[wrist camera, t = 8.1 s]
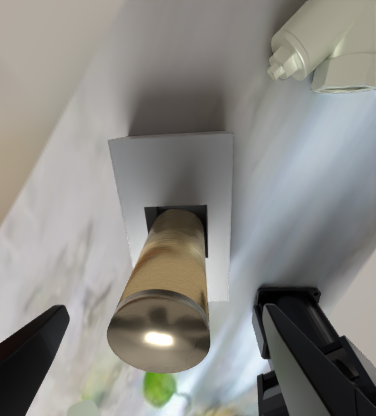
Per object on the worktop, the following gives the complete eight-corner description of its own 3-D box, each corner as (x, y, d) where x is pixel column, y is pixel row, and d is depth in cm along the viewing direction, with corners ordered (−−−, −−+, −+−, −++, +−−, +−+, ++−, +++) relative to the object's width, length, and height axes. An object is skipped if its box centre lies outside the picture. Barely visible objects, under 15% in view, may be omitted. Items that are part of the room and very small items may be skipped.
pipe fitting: (258, 93, 16) (352, 93, 15) (271, 84, 12) (396, 84, 11) (278, -55, 12) (398, -63, 12) (304, -126, 9) (478, -143, 8)
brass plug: (203, 207, 15) (209, 303, 7) (204, 253, 16) (210, 374, 8) (149, 209, 15) (96, 304, 7) (155, 254, 17) (117, 372, 9)
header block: (225, 130, 16) (233, 133, 12) (223, 270, 22) (228, 301, 18) (127, 136, 17) (107, 140, 13) (149, 271, 22) (139, 301, 18)
